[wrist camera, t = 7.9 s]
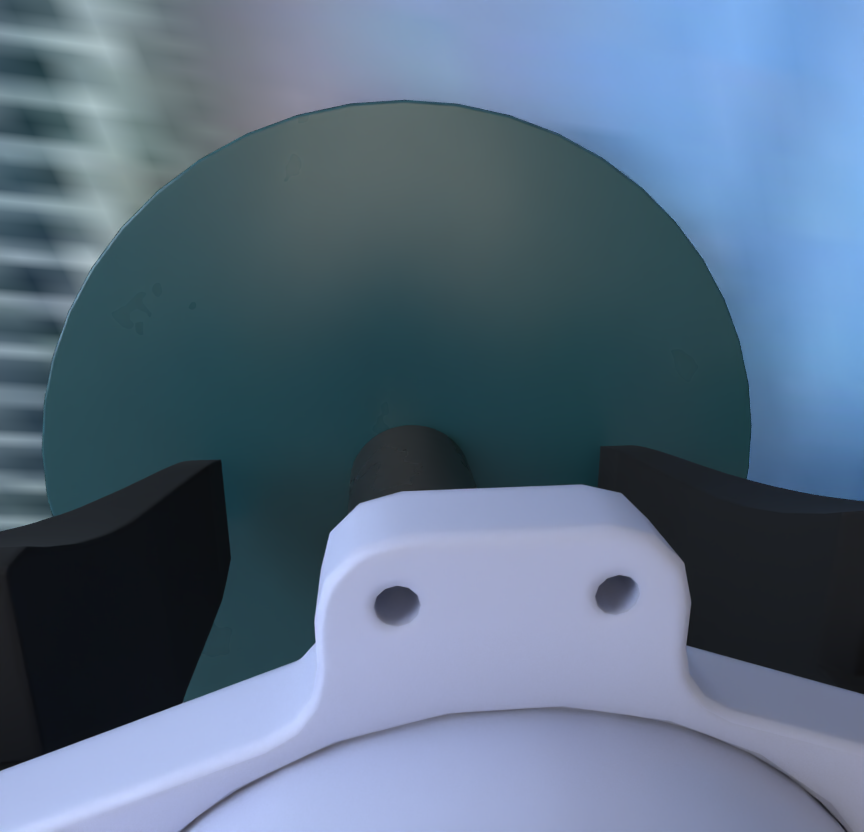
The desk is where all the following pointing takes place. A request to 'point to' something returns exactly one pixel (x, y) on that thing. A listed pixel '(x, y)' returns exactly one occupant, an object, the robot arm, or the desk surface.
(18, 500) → the desk surface
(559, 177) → the pot lid
